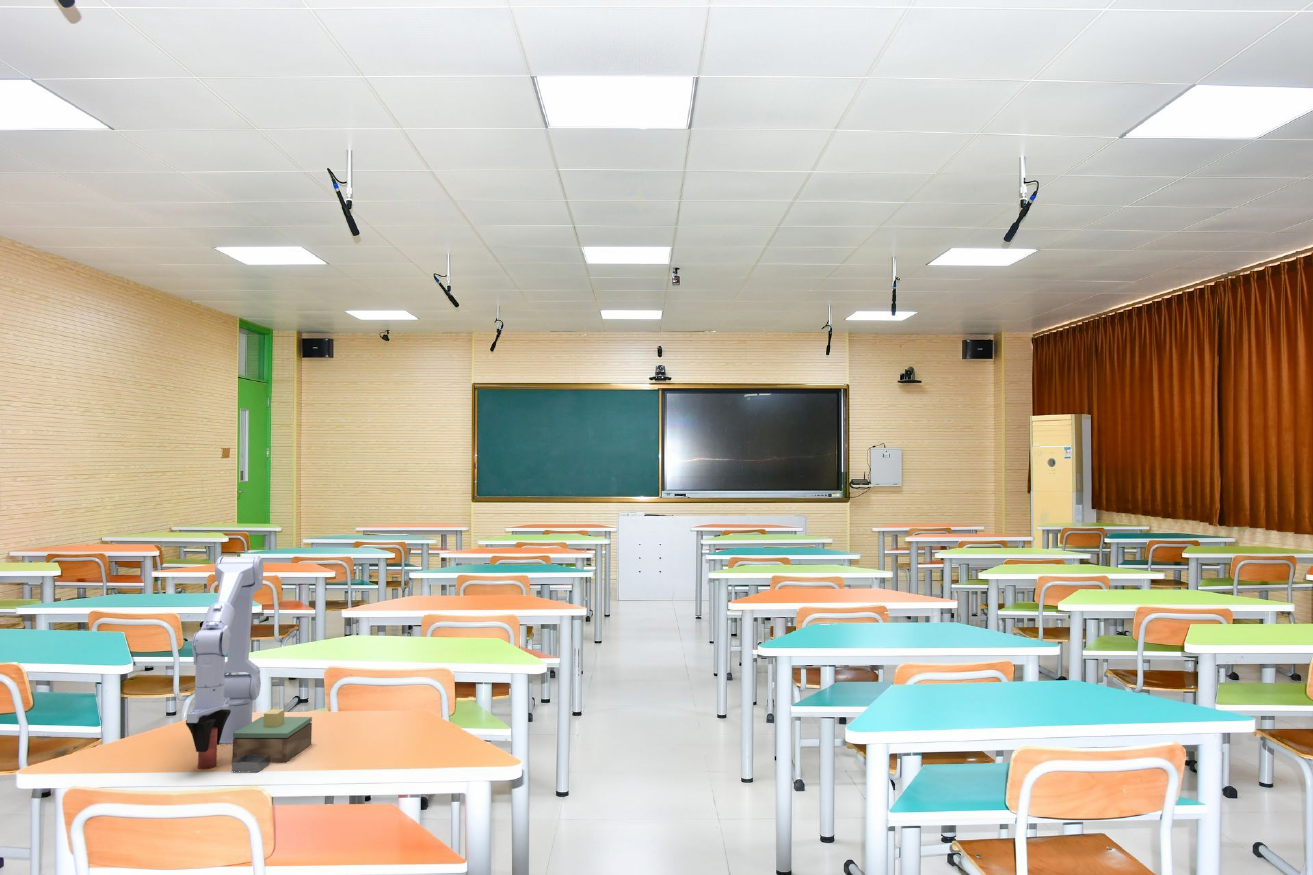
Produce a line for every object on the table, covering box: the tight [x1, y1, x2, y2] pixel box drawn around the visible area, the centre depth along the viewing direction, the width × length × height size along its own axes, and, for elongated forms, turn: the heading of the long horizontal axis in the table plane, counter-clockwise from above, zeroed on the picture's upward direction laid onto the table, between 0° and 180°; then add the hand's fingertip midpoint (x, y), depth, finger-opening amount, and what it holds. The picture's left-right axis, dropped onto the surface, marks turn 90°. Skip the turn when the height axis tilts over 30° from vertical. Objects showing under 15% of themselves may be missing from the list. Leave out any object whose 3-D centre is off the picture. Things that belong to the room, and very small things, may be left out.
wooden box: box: [231, 722, 313, 763], centre depth 202 cm, size 12×14×5 cm
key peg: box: [197, 727, 218, 770], centre depth 192 cm, size 4×4×8 cm
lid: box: [233, 708, 313, 738], centre depth 202 cm, size 12×14×4 cm
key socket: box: [231, 755, 271, 773], centre depth 191 cm, size 6×6×2 cm
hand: (207, 747), depth 192 cm, fingers open, 4 cm apart
